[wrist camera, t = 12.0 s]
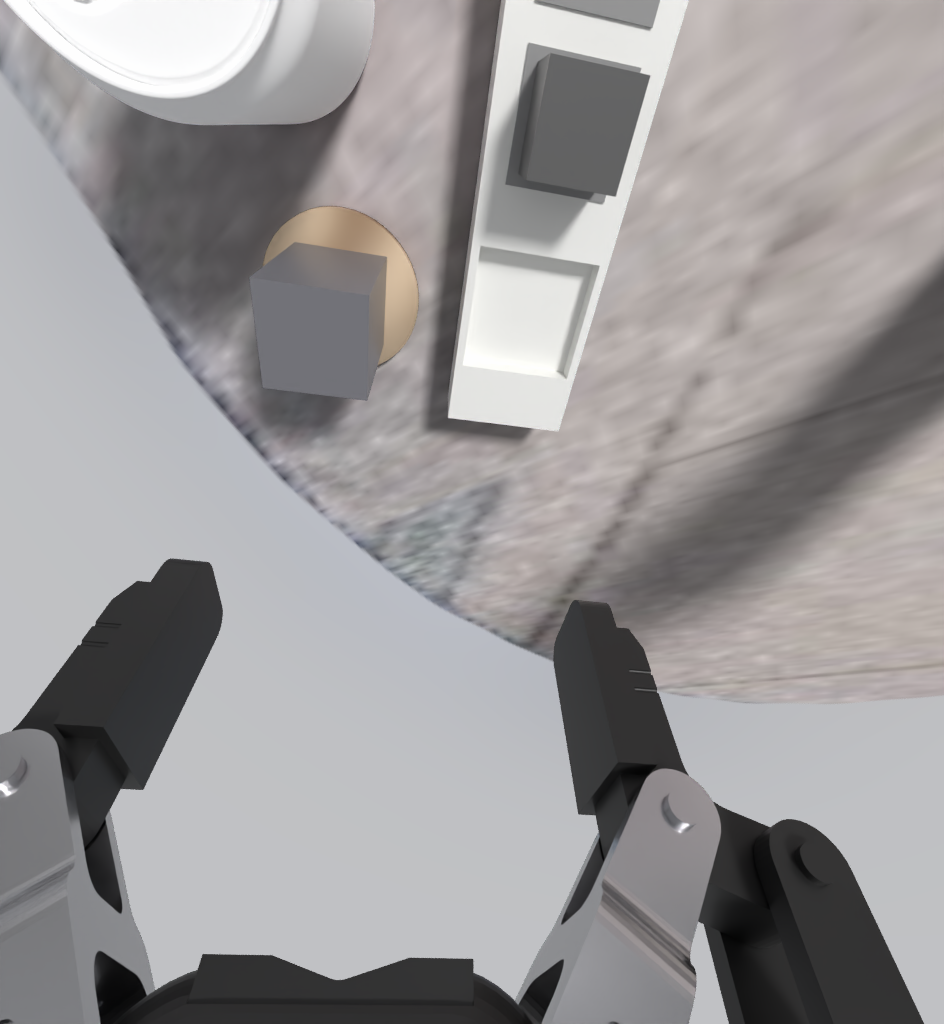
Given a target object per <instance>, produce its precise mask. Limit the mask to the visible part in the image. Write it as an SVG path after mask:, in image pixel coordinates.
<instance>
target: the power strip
mask: <svg viewBox="0 0 944 1024" xmlns="http://www.w3.org/2000/svg"><path fill="white" fill-rule="evenodd" d="M688 1H689V0H501V4H500V12H499V19H498V26H497V34H496V41H495V49H494V56H493V64H492V71H491V78H490V86H489V93H488V101H487V108H486V116H485V123H484V131H483V138H482V145H481V153H480V160H479V168H478V175H477V183H476V190H475V198H474V205H473V212H472V220H471V227H470V235H469V242H468V250H467V257H466V264H465V272H464V279H463V287H462V294H461V302H460V309H459V317H458V324H457V331H456V339H455V346H454V354H453V361H452V369H451V376H450V384H449V391H448V418H453V419H461V420H470V421H478V422H486V423H494V424H502V425H510V426H519V427H527V428H535V429H543V430H551V431H559V428H560V424H561V421H562V418H563V415H564V411H565V408H566V405H567V401H568V398H569V395H570V391H571V388H572V385H573V381H574V378H575V375H576V372H577V368H578V365H579V362H580V358H581V355H582V352H583V348H584V345H585V342H586V338H587V335H588V332H589V329H590V325H591V322H592V319H593V315H594V312H595V309H596V305H597V302H598V299H599V295H600V292H601V289H602V286H603V282H604V279H605V276H606V272H607V269H608V266H609V262H610V259H611V256H612V252H613V249H614V246H615V242H616V239H617V236H618V233H619V229H620V226H621V223H622V219H623V216H624V213H625V209H626V206H627V203H628V199H629V196H630V193H631V190H632V186H633V183H634V180H635V176H636V173H637V170H638V166H639V163H640V160H641V156H642V153H643V150H644V147H645V143H646V140H647V137H648V133H649V130H650V127H651V123H652V120H653V117H654V113H655V110H656V107H657V103H658V100H659V97H660V94H661V90H662V87H663V84H664V80H665V77H666V74H667V70H668V67H669V64H670V60H671V57H672V54H673V51H674V47H675V44H676V41H677V37H678V34H679V31H680V27H681V24H682V21H683V17H684V14H685V11H686V8H687V4H688Z"/></svg>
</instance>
